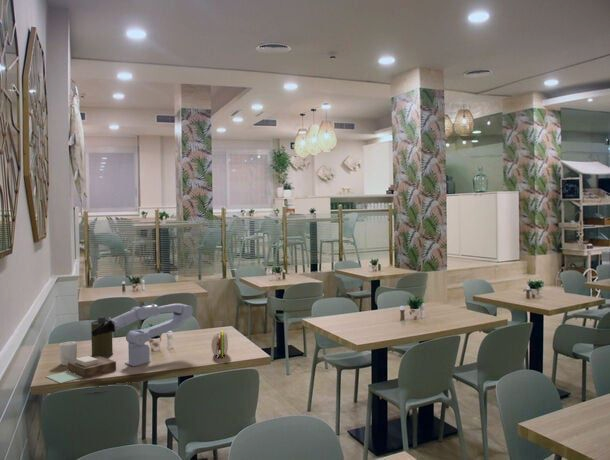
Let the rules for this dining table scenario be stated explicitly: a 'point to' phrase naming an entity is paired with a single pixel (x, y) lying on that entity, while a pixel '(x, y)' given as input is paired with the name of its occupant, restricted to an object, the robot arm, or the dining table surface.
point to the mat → (64, 377)
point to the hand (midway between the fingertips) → (94, 333)
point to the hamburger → (219, 344)
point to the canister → (101, 340)
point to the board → (92, 367)
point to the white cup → (68, 352)
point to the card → (86, 361)
